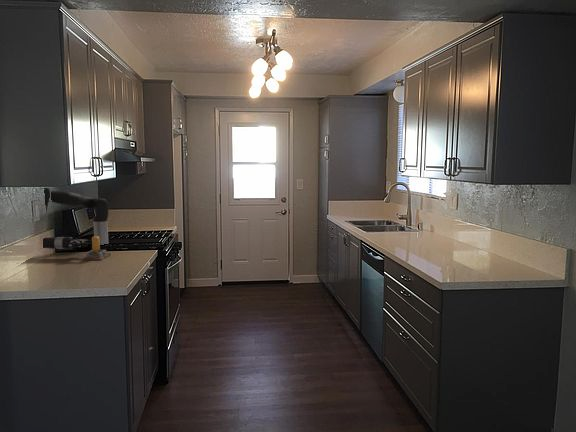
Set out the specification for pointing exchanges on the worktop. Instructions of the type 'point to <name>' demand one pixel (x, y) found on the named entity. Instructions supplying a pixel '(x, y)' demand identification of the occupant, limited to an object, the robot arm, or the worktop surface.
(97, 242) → the connector
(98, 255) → the junction block
